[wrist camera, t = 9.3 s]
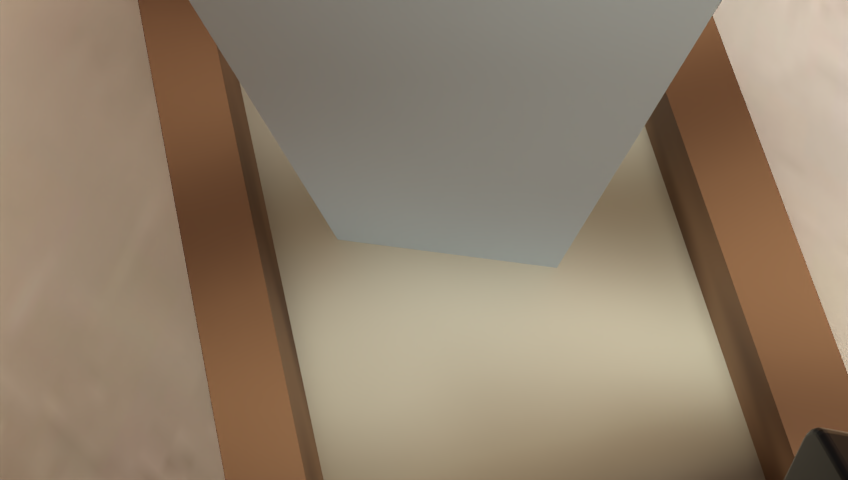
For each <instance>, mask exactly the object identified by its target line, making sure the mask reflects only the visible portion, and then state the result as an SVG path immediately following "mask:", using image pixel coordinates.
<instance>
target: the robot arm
mask: <svg viewBox="0 0 848 480" xmlns="http://www.w3.org/2000/svg"><path fill="white" fill-rule="evenodd" d="M784 480H848V432H844V431H839V430H833V429H828V428H822V427H818V428H814V429H812V430H810V431H809V432H808V433H807V434H806V436H805V438H804V439H803V441H802V443H801V445H800V447H799V449H798V451H797V454H796V456H795V458H794V460H793V462H792V464H791V466H790V468H789V470H788V472H787V474H786V476H785V478H784Z"/></svg>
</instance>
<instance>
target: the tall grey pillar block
mask: <svg viewBox="0 0 848 480" xmlns="http://www.w3.org/2000/svg"><path fill="white" fill-rule="evenodd" d="M189 1H190V3H191V5H192V6H193V8H194V9H195V11H196V13H197V14H198V16H199V18H200V19H201V21H202V22H203V24H204V26H205V27H206V29H207V30H208V32H209V34H210V35H211V37H212V38H213V40H214V42H215V43H216V45H217V46H218V48H219V50H220V51H221V53H222V54H223V56H224V58H225V59H226V61H227V63H228V64H229V66H230V67H231V69H232V71H233V72H234V74H235V75H236V77H237V79H238V80H239V82H240V83H241V85H242V87H243V88H244V90H245V91H246V93H247V95H248V96H249V98H250V99H251V101H252V103H253V104H254V106H255V108H256V109H257V111H258V112H259V114H260V116H261V117H262V119H263V120H264V122H265V124H266V125H267V127H268V128H269V130H270V132H271V133H272V135H273V136H274V138H275V140H276V141H277V143H278V144H279V146H280V148H281V149H282V151H283V153H284V154H285V156H286V157H287V159H288V161H289V162H290V164H291V165H292V167H293V169H294V170H295V172H296V173H297V175H298V177H299V178H300V180H301V181H302V183H303V185H304V186H305V188H306V189H307V191H308V193H309V194H310V196H311V197H312V199H313V201H314V202H315V204H316V206H317V207H318V209H319V210H320V212H321V214H322V215H323V217H324V218H325V220H326V222H327V223H328V225H329V226H330V228H331V230H332V231H333V233H334V234H335V236H336V238H337V239H338V240H345V241H353V242H360V243H368V244H376V245H384V246H391V247H399V248H407V249H415V250H422V251H430V252H438V253H446V254H453V255H461V256H469V257H477V258H484V259H492V260H500V261H508V262H515V263H523V264H531V265H539V266H546V267H554V268H557V267H558V265H559V264H560V262H561V260H562V259H563V257H564V255H565V254H566V252H567V251H568V249H569V247H570V246H571V244H572V242H573V241H574V239H575V238H576V236H577V234H578V233H579V231H580V229H581V228H582V226H583V225H584V223H585V221H586V220H587V218H588V217H589V215H590V213H591V212H592V210H593V208H594V207H595V205H596V204H597V202H598V200H599V199H600V197H601V195H602V194H603V192H604V191H605V189H606V187H607V186H608V184H609V182H610V181H611V179H612V178H613V176H614V174H615V173H616V171H617V169H618V168H619V166H620V165H621V163H622V161H623V160H624V158H625V156H626V155H627V153H628V152H629V150H630V148H631V147H632V145H633V143H634V142H635V140H636V139H637V137H638V135H639V134H640V132H641V131H642V129H643V127H644V126H645V124H646V122H647V121H648V119H649V118H650V116H651V114H652V113H653V111H654V109H655V108H656V106H657V105H658V103H659V101H660V100H661V98H662V96H663V95H664V93H665V92H666V90H667V88H668V87H669V85H670V83H671V82H672V80H673V79H674V77H675V75H676V74H677V72H678V70H679V69H680V67H681V66H682V64H683V62H684V61H685V59H686V58H687V56H688V54H689V53H690V51H691V49H692V48H693V46H694V45H695V43H696V41H697V40H698V38H699V36H700V35H701V33H702V32H703V30H704V28H705V27H706V25H707V23H708V22H709V20H710V19H711V17H712V15H713V14H714V12H715V10H716V9H717V7H718V6H719V4H720V2H721V1H722V0H189Z"/></svg>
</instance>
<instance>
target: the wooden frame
mask: <svg viewBox="0 0 848 480" xmlns="http://www.w3.org/2000/svg"><path fill="white" fill-rule="evenodd" d="M138 3H139V8H140V14H141V19H142V25H143V30H144V36H145V41H146V47H147V52H148V58H149V63H150V69H151V74H152V80H153V85H154V91H155V96H156V102H157V107H158V113H159V118H160V124H161V129H162V135H163V140H164V146H165V151H166V157H167V162H168V167H169V173H170V178H171V184H172V189H173V195H174V200H175V206H176V211H177V217H178V222H179V228H180V233H181V239H182V244H183V250H184V255H185V261H186V266H187V272H188V277H189V283H190V288H191V294H192V299H193V305H194V310H195V316H196V321H197V327H198V332H199V338H200V343H201V348H202V354H203V359H204V365H205V370H206V376H207V381H208V387H209V392H210V398H211V403H212V409H213V414H214V420H215V425H216V431H217V436H218V442H219V447H220V453H221V458H222V464H223V469H224V475H225V480H784V478H785V476H786V474H787V472H788V470H789V468H790V466H791V464H792V462H793V460H794V458H795V456H796V454H797V451H798V449H799V447H800V445H801V443H802V441H803V439H804V438H805V436H806V434H807V433H808V432H809V431H810V430H812V429H814V428H818V427H822V428H828V429H833V430H839V431H844V432H848V374H847V371H846V368H845V366H844V363H843V360H842V358H841V355H840V352H839V350H838V347H837V345H836V342H835V339H834V337H833V334H832V331H831V329H830V326H829V323H828V321H827V318H826V315H825V313H824V310H823V307H822V305H821V302H820V299H819V297H818V294H817V292H816V289H815V286H814V284H813V281H812V278H811V276H810V273H809V270H808V268H807V265H806V262H805V260H804V257H803V254H802V252H801V249H800V246H799V244H798V241H797V239H796V236H795V233H794V231H793V228H792V225H791V223H790V220H789V217H788V215H787V212H786V209H785V207H784V204H783V201H782V199H781V196H780V193H779V191H778V188H777V186H776V183H775V180H774V178H773V175H772V172H771V170H770V167H769V164H768V162H767V159H766V156H765V154H764V151H763V148H762V146H761V143H760V140H759V138H758V135H757V132H756V130H755V127H754V125H753V122H752V119H751V117H750V114H749V111H748V109H747V106H746V103H745V101H744V98H743V95H742V93H741V90H740V87H739V85H738V82H737V79H736V77H735V74H734V72H733V69H732V66H731V64H730V61H729V58H728V56H727V53H726V50H725V48H724V45H723V42H722V40H721V37H720V34H719V32H718V29H717V26H716V24H715V21H714V19H713V16H712V17H711V19H710V20H709V22H708V23H707V25H706V27H705V28H704V30H703V32H702V33H701V35H700V36H699V38H698V40H697V41H696V43H695V45H694V46H693V48H692V49H691V51H690V53H689V54H688V56H687V58H686V59H685V61H684V62H683V64H682V66H681V67H680V69H679V70H678V72H677V74H676V75H675V77H674V79H673V80H672V82H671V83H670V85H669V87H668V88H667V90H666V92H665V93H664V95H663V96H662V98H661V100H660V101H659V103H658V105H657V106H656V108H655V109H654V111H653V113H652V114H651V116H650V118H649V119H648V121H647V122H646V124H645V126H644V127H643V129H642V131H641V132H640V134H639V135H638V137H637V139H636V140H635V142H634V143H633V145H632V147H631V148H630V150H629V152H628V153H627V155H626V156H625V158H624V160H623V161H622V163H621V165H620V166H619V168H618V169H617V171H616V173H615V174H614V176H613V178H612V179H611V181H610V182H609V184H608V186H607V187H606V189H605V191H604V192H603V194H602V195H601V197H600V199H599V200H598V202H597V204H596V205H595V207H594V208H593V210H592V212H591V213H590V215H589V217H588V218H587V220H586V221H585V223H584V225H583V226H582V228H581V229H580V231H579V233H578V234H577V236H576V238H575V239H574V241H573V242H572V244H571V246H570V247H569V249H568V251H567V252H566V254H565V255H564V257H563V259H562V260H561V262H560V264H559V265H558V267H557V268H554V267H546V266H539V265H531V264H523V263H515V262H508V261H500V260H492V259H484V258H477V257H469V256H461V255H453V254H446V253H438V252H430V251H422V250H415V249H407V248H399V247H391V246H384V245H376V244H368V243H360V242H353V241H345V240H338V239H337V238H336V236H335V234H334V233H333V231H332V230H331V228H330V226H329V225H328V223H327V222H326V220H325V218H324V217H323V215H322V214H321V212H320V210H319V209H318V207H317V206H316V204H315V202H314V201H313V199H312V197H311V196H310V194H309V193H308V191H307V189H306V188H305V186H304V185H303V183H302V181H301V180H300V178H299V177H298V175H297V173H296V172H295V170H294V169H293V167H292V165H291V164H290V162H289V161H288V159H287V157H286V156H285V154H284V153H283V151H282V149H281V148H280V146H279V144H278V143H277V141H276V140H275V138H274V136H273V135H272V133H271V132H270V130H269V128H268V127H267V125H266V124H265V122H264V120H263V119H262V117H261V116H260V114H259V112H258V111H257V109H256V108H255V106H254V104H253V103H252V101H251V99H250V98H249V96H248V95H247V93H246V91H245V90H244V88H243V87H242V85H241V83H240V82H239V80H238V79H237V77H236V75H235V74H234V72H233V71H232V69H231V67H230V66H229V64H228V63H227V61H226V59H225V58H224V56H223V54H222V53H221V51H220V50H219V48H218V46H217V45H216V43H215V42H214V40H213V38H212V37H211V35H210V34H209V32H208V30H207V29H206V27H205V26H204V24H203V22H202V21H201V19H200V18H199V16H198V14H197V13H196V11H195V9H194V8H193V6H192V5H191V3H190V1H189V0H138Z"/></svg>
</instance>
